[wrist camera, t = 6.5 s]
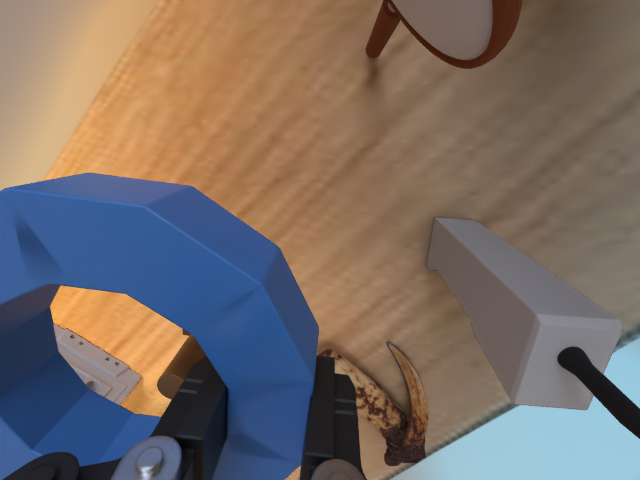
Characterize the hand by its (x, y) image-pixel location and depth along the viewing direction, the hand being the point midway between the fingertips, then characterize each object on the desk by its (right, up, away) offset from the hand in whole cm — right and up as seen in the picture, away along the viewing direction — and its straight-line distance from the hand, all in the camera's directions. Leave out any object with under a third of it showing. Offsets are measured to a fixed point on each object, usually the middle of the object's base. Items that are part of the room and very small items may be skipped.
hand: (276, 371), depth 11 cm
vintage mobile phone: (+14, +4, +20) cm, 24 cm away
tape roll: (-5, +1, +1) cm, 5 cm away
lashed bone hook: (+9, -12, +26) cm, 30 cm away
